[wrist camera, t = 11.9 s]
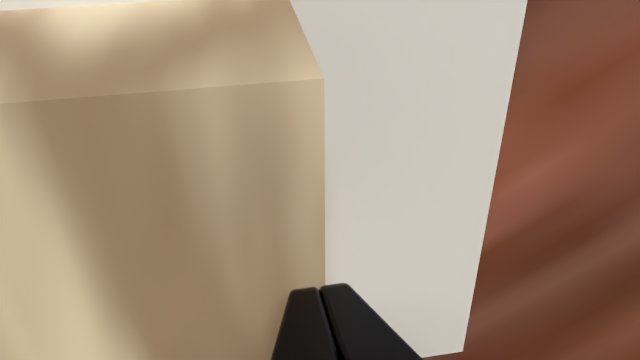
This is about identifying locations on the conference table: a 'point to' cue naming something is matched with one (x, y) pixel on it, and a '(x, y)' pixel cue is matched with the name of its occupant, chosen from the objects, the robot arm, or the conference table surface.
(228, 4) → the maple block
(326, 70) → the mat
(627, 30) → the conference table surface
